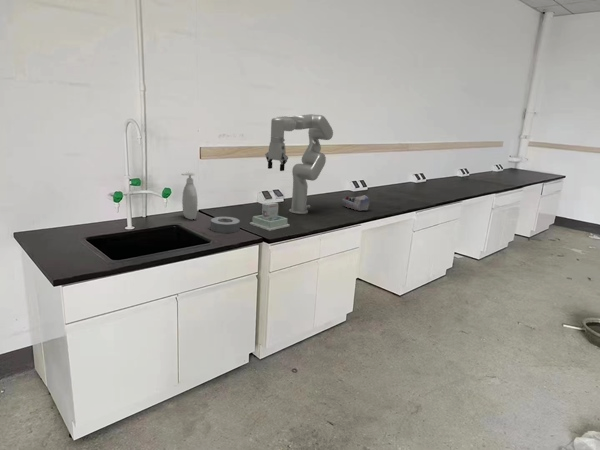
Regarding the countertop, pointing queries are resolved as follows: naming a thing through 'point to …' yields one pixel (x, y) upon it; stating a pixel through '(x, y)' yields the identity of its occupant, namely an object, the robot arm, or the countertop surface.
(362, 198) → the cell model
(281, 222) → the dock
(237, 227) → the tape roll
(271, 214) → the ink box
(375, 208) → the countertop surface
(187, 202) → the soap bottle
